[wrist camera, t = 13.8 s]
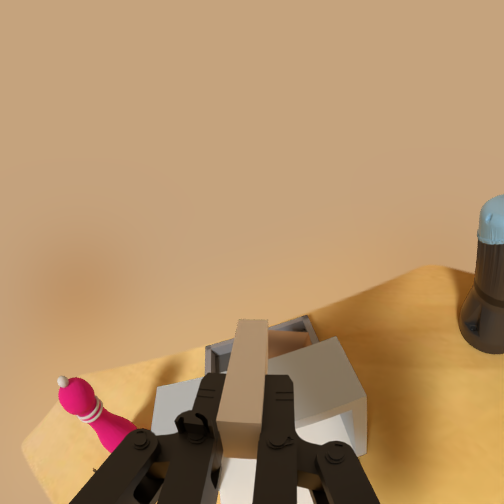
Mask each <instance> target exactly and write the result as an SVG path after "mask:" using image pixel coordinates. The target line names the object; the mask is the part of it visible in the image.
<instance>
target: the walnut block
mask: <svg viewBox="0 0 504 504" xmlns="http://www.w3.org/2000/svg"><path fill="white" fill-rule="evenodd" d="M310 345H312V344H311V340H310V336H309V332H293V331H278V330H268V359H271V358H274V357H277V356H280V355H283V354H286V353H289V352H293V351H296V350H298V349H301V348H304V347H307V346H310Z"/></svg>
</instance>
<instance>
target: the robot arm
mask: <svg viewBox="0 0 504 504" xmlns="http://www.w3.org/2000/svg"><path fill="white" fill-rule="evenodd" d="M477 237H478V249H477V261H476V269H475V278H474V284H473V286H472V288H471V290H470V292H469V294H468V296H467V297H466V299H465V301H464V303H463V305H462V308H461V312H460V318H459V327H460V331H461V333H462V335H463V337H464V338H465V340H466V341H467V342H468V343H469V344H470V345H471V346H473V347H474V348H476V349H478V350H480V351H482V352H485V353H489V354H503V353H504V195H499V196H496V197H494V198H492V199H490V200H488V201H487V202H486V203H485V204H484V205H483V207H482V209H481V211H480V218H479V229H478V231H477ZM267 370H268V320H262V319H261V320H260V319H239V320H238V325H237V329H236V333H235V338H234V342H233V347H232V351H231V356H230V360H229V365H228V369H227V374H225V373H210V372H208V373H207V374H206V375H205V376H204V377H203V378H202V379H201V382H200V385H199V390H198V392H197V395H196V398H195V401H194V404H193V408H192V410H188V411H185V412H182V413H181V414H180V415H178V416H177V417H176V419H175V421H174V422H175V425H176V427H177V430H178V432H176V433H173V434H167V435H155V433H153V432H152V431H150V430H147V429H136V430H133V431H131V432H130V433H128V434H127V435H126V436H125V438H124V439H123V440H122V441H121V442H120V444H119V445H118V446H117V447H116V449H115V450H114V451H113V452H112V453H111V455H110V456H109V457H108V458H107V459H106V461H105V462H104V463H103V464H102V465H101V466H100V468H99V469H98V470H97V471H96V472H95V474H94V475H93V476H92V477H91V478H90V480H89V481H88V482H87V483H86V484H85V485H84V487H83V488H82V489H81V490H80V491H79V492H78V494H77V495H76V496H75V497H74V498H73V499H72V501H71V502H70V503H69V504H156V502H157V501H158V502H157V504H216V501H217V496H218V490H219V485H220V479H221V473H222V463H221V461H222V455H224V457H227V458H239V459H257V461H256V472H255V482H254V491H253V501H252V504H297V486H298V487H302V488H306V489H309V492H310V495H311V498H312V501H313V504H380V502H379V500H378V498H377V496H376V494H375V492H374V490H373V488H372V486H371V484H370V482H369V480H368V478H367V476H366V474H365V472H364V470H363V468H362V466H361V464H360V462H359V460H358V458H357V456H356V454H355V452H354V450H353V449H352V447H351V446H350V445H349V444H347V443H345V442H342V441H329V442H327V443H325V444H323V445H318V444H314V443H310V442H307V441H305V440H303V439H301V438H300V437H299V436H298V434H297V432H296V430H295V413H294V386H293V381H292V380H291V378H290V377H289V375H268V374H267Z"/></svg>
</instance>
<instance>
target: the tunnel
mask: <svg viewBox="0 0 504 504" xmlns="http://www.w3.org/2000/svg"><path fill="white" fill-rule="evenodd" d="M221 373H225V374H227V371H225V372H221ZM267 374H268V375H289V377H290V378H291V380H292V381H293V386H294V413H295V430H296V432H297V434H298V436H299V437H300V438H301V439H303V440H305V441H307V442H310V443H314V444H318V445H323V444H325V443H327V442H329V441H342V442H345V443H347V444H349V445H350V446H351V447H352V449H353V450H354V452H355V454H356V456H357V457H359V456H362V455H364V454H367V395H366V393H365V391H364V389H363V387H362V385H361V383H360V381H359V379H358V377H357V375H356V373H355V371H354V369H353V367H352V366H351V364H350V362H349V360H348V358H347V356H346V354H345V352H344V350H343V348H342V346H341V344H340V342H339V340H338V338H337V336H335V337H332V338H329V339H327V340H324V341H321V342H319V343H316V344H313V345H310V346H307V347H304V348H301V349H298V350H296V351H293V352H289V353H286V354H283V355H280V356H277V357H274V358H271V359H268V370H267ZM202 378H203V377H201V378H197V379H192V380H188V381H183V382H179V383H174V384H169V385H164V386H159V387H157V393H156V399H155V405H154V412H153V419H152V426H151V431H152V432H153V433H155V435H167V434H173V433H176V432H178V430H177V427H176V425H175V422H174V421H175V419H176V417H177V416H178V415H180V414H181V413H182V412H185V411H188V410H192V408H193V404H194V401H195V398H196V395H197V392H198V390H199V385H200V382H201V379H202ZM256 461H257V459H239V458H227V457H224V455H222V461H221V463H222V473H221V479H220V485H219V490H218V491H220V501H221V504H252V501H253V491H254V482H255V472H256ZM297 504H313V501H312V498H311V495H310V492H309V489H306V488H302V487H298V486H297Z"/></svg>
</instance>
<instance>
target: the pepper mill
mask: <svg viewBox="0 0 504 504" xmlns="http://www.w3.org/2000/svg"><path fill="white" fill-rule="evenodd" d="M57 381H58V384H59V386H60V389H59V401H60V403H61V405H62V406H63V408H64V409H65V410H66V411H67V412H69V413H71V414H73V415H76V416H77V417H78V418H79V419H80V420H81V421H82V422H84V423H88V424H89V425H90V426H91V427H92V428H93V429H94V430H95V431H96V433H97V435H98V437H99V439H100V441H101V443H102V445H103V446H104V447H105V448H106V449H107V450H108V451H109V452H110V453H112V452H113V451H114V450H115V449H116V447H117V446H118V445H119V444H120V442H121V441H122V440H123V439H124V438H125V436H126V435H127V434H128V433H130V432H131V431H133V430H136V429H137V428H136V426H135V425H134V424H133V423H131V422H130V421H129V420H127V419H125V418H123V417H120V416H117V415H114V414H112V413H110V412H108V411H107V410H106V409H105V408H104V407H103V403H102V401H101V400H100V399H99V398H98V397H97V396H95V394H94V390H93V388H92V387H91V385H90V384H89V383H88V382H86V381H85V380H84V379H81V378H77V377H75V378H70V379H67V378H66V377H65V376H59V378H58V380H57Z"/></svg>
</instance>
